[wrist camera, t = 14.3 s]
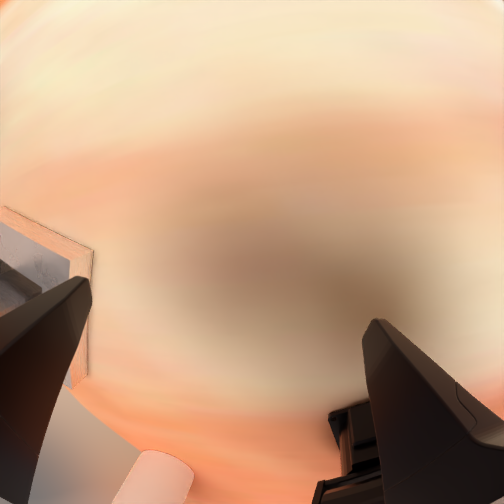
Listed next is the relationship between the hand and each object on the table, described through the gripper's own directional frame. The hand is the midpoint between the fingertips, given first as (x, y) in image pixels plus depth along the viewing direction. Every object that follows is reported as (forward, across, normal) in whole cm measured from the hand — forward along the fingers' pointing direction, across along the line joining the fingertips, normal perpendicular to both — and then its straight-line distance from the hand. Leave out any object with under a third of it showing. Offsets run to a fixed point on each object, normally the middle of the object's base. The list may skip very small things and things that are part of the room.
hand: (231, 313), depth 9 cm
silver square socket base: (+13, +19, +13) cm, 26 cm away
